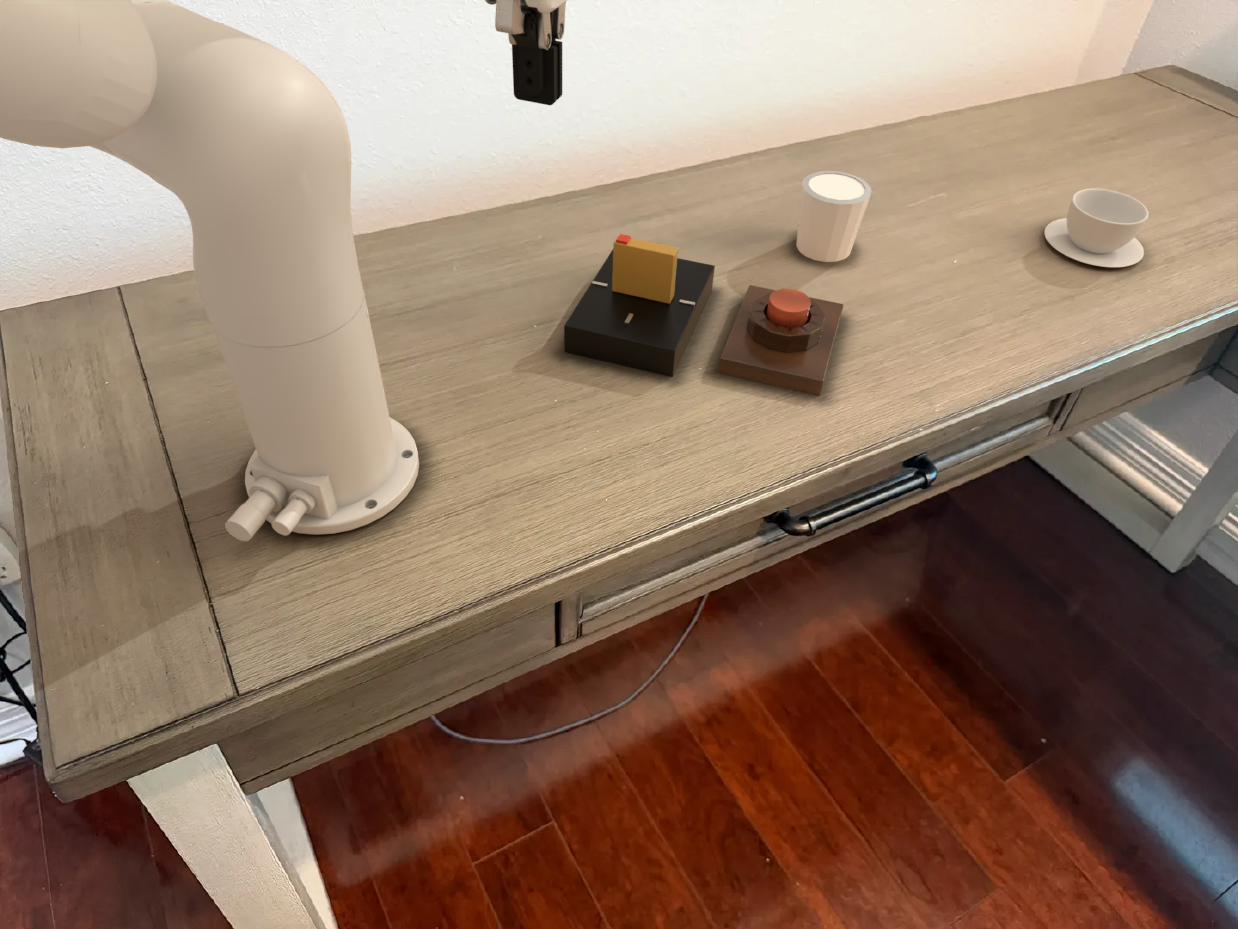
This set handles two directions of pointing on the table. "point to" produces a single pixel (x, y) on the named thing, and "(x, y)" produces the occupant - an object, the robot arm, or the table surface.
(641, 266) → the yellow flat block
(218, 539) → the table surface
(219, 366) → the table surface
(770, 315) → the button
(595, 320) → the plate
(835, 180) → the beige cup
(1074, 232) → the teacup
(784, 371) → the button block
